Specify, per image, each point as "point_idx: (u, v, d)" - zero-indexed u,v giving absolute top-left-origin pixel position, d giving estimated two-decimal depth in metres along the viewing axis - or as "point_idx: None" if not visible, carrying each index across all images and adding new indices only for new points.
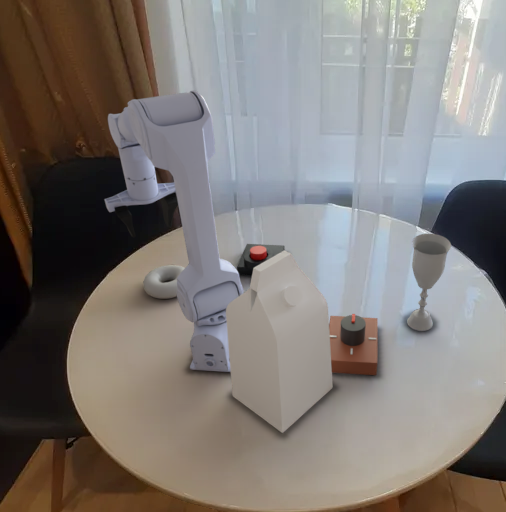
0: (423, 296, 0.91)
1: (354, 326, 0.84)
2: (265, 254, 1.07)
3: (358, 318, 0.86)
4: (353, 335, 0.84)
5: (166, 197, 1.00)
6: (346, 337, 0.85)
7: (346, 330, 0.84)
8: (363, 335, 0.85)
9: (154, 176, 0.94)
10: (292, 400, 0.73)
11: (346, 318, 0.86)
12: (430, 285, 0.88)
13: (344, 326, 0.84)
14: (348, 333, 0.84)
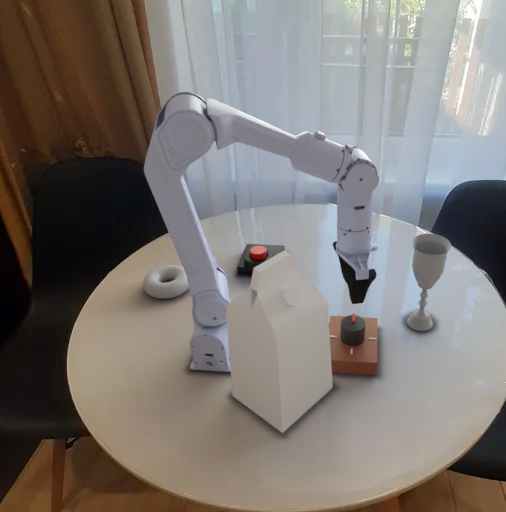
0: (423, 296, 0.91)
1: (354, 326, 0.84)
2: (265, 254, 1.07)
3: (358, 318, 0.86)
4: (353, 335, 0.84)
5: (353, 269, 0.80)
6: (346, 337, 0.85)
7: (346, 330, 0.84)
8: (363, 335, 0.85)
9: (346, 232, 0.78)
10: (292, 400, 0.73)
11: (346, 318, 0.86)
12: (430, 285, 0.88)
13: (344, 326, 0.84)
14: (348, 333, 0.84)
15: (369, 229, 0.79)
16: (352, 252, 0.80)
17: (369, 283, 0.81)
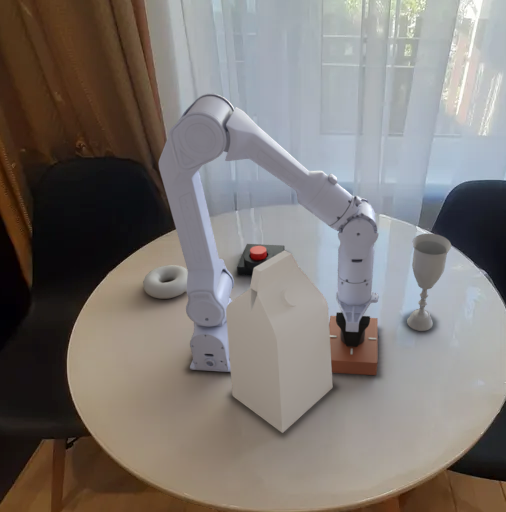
0: (423, 296, 0.91)
1: None
2: (265, 254, 1.07)
3: None
4: None
5: None
6: None
7: None
8: (363, 335, 0.85)
9: (343, 282, 0.77)
10: (292, 400, 0.73)
11: None
12: (430, 285, 0.88)
13: None
14: None
15: (368, 282, 0.78)
16: (348, 302, 0.79)
17: (362, 330, 0.81)
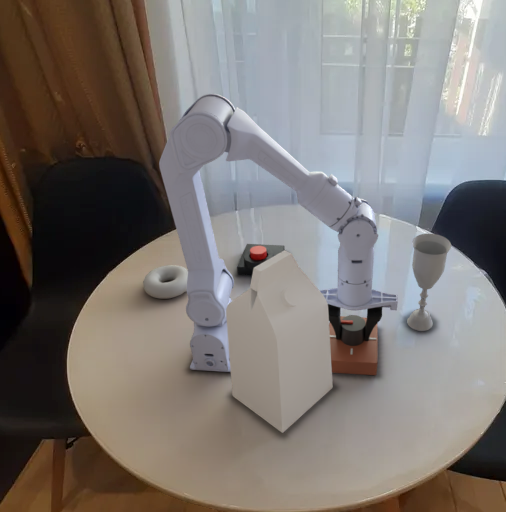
0: (423, 296, 0.91)
1: (358, 322, 0.85)
2: (265, 254, 1.07)
3: (346, 319, 0.86)
4: None
5: (370, 308, 0.82)
6: (363, 335, 0.85)
7: (363, 328, 0.84)
8: None
9: (368, 282, 0.78)
10: (292, 400, 0.73)
11: (346, 327, 0.84)
12: (430, 285, 0.88)
13: (359, 328, 0.84)
14: (364, 328, 0.85)
15: None
16: (370, 296, 0.81)
17: None
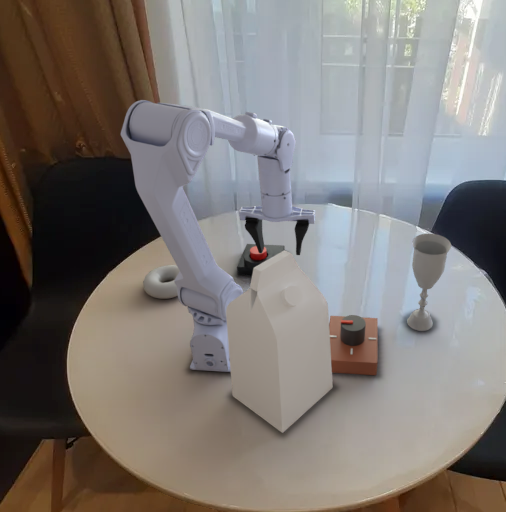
0: (423, 296, 0.91)
1: (358, 322, 0.85)
2: (265, 254, 1.07)
3: (346, 319, 0.86)
4: None
5: (298, 222, 0.93)
6: (363, 335, 0.85)
7: (363, 328, 0.84)
8: None
9: (285, 195, 0.89)
10: (292, 400, 0.73)
11: (346, 327, 0.84)
12: (430, 285, 0.88)
13: (359, 328, 0.84)
14: (364, 328, 0.85)
15: None
16: (290, 210, 0.92)
17: None
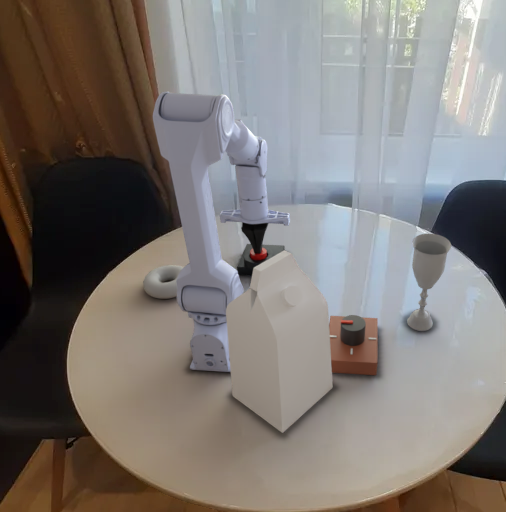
0: (423, 296, 0.91)
1: (358, 322, 0.85)
2: (265, 255, 1.07)
3: (346, 319, 0.86)
4: None
5: (257, 223, 1.02)
6: (363, 335, 0.85)
7: (363, 328, 0.84)
8: None
9: (261, 200, 0.98)
10: (292, 400, 0.73)
11: (346, 327, 0.84)
12: (430, 285, 0.88)
13: (359, 328, 0.84)
14: (364, 328, 0.85)
15: None
16: (266, 214, 1.01)
17: None
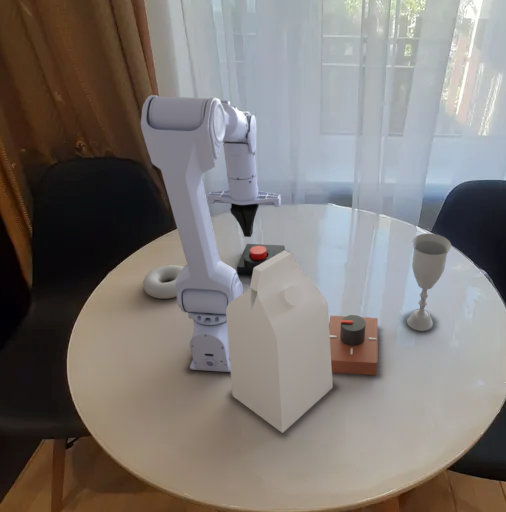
0: (423, 296, 0.91)
1: (358, 322, 0.85)
2: (265, 254, 1.07)
3: (346, 319, 0.86)
4: None
5: (247, 205, 0.98)
6: (363, 335, 0.85)
7: (363, 328, 0.84)
8: None
9: (251, 179, 0.94)
10: (292, 400, 0.73)
11: (346, 327, 0.84)
12: (430, 285, 0.88)
13: (359, 328, 0.84)
14: (364, 328, 0.85)
15: None
16: (256, 194, 0.97)
17: (256, 210, 1.02)
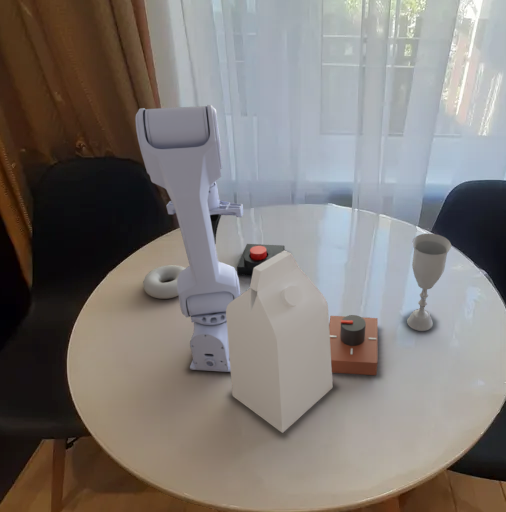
0: (423, 296, 0.91)
1: (358, 322, 0.85)
2: (265, 254, 1.07)
3: (346, 319, 0.86)
4: None
5: None
6: (363, 335, 0.85)
7: (363, 328, 0.84)
8: None
9: (210, 189, 0.90)
10: (292, 400, 0.73)
11: (346, 327, 0.84)
12: (430, 285, 0.88)
13: (359, 328, 0.84)
14: (364, 328, 0.85)
15: None
16: (216, 204, 0.93)
17: (219, 220, 0.98)
